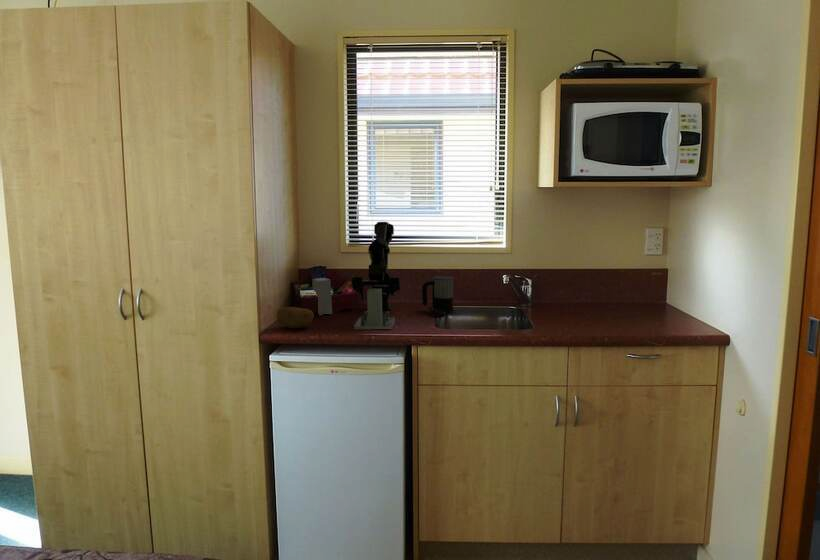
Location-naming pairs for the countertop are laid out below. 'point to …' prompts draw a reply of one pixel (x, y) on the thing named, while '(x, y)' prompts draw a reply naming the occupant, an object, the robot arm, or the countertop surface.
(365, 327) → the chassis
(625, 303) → the countertop surface
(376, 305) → the plate
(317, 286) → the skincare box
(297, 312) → the potato
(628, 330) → the countertop surface
